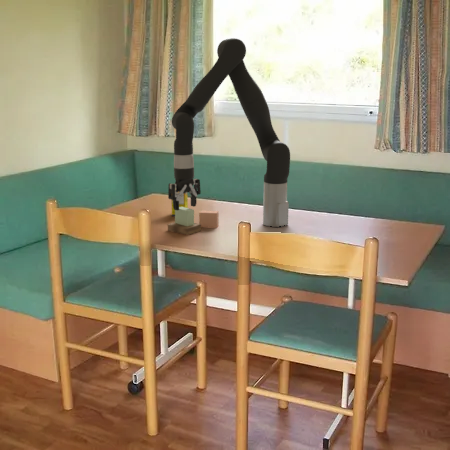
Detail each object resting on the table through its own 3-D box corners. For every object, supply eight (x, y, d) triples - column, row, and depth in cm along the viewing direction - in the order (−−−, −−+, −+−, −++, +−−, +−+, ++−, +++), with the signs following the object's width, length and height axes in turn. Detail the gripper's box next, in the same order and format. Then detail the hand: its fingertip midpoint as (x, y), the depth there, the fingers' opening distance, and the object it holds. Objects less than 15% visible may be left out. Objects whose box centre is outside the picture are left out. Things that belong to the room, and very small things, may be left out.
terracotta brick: (218, 225, 252) (218, 211, 251) (216, 228, 249) (216, 213, 247) (201, 225, 253) (201, 210, 252) (199, 227, 250) (199, 212, 249)
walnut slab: (201, 231, 245) (201, 224, 245) (187, 236, 239) (187, 228, 238) (181, 227, 251) (181, 220, 250) (167, 231, 245) (167, 224, 244)
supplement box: (187, 213, 271) (187, 188, 269) (185, 216, 266) (185, 191, 263) (174, 213, 272) (173, 187, 269) (171, 216, 266) (171, 190, 263)
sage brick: (193, 224, 244) (194, 209, 242) (187, 226, 241) (187, 210, 240) (181, 221, 248) (181, 206, 247) (174, 223, 246) (175, 207, 244)
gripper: (176, 169, 231) (177, 213, 235) (204, 164, 241) (205, 206, 245) (162, 167, 236) (164, 209, 240) (191, 162, 246) (192, 203, 250)
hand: (185, 208), depth 243 cm, fingers open, 8 cm apart
